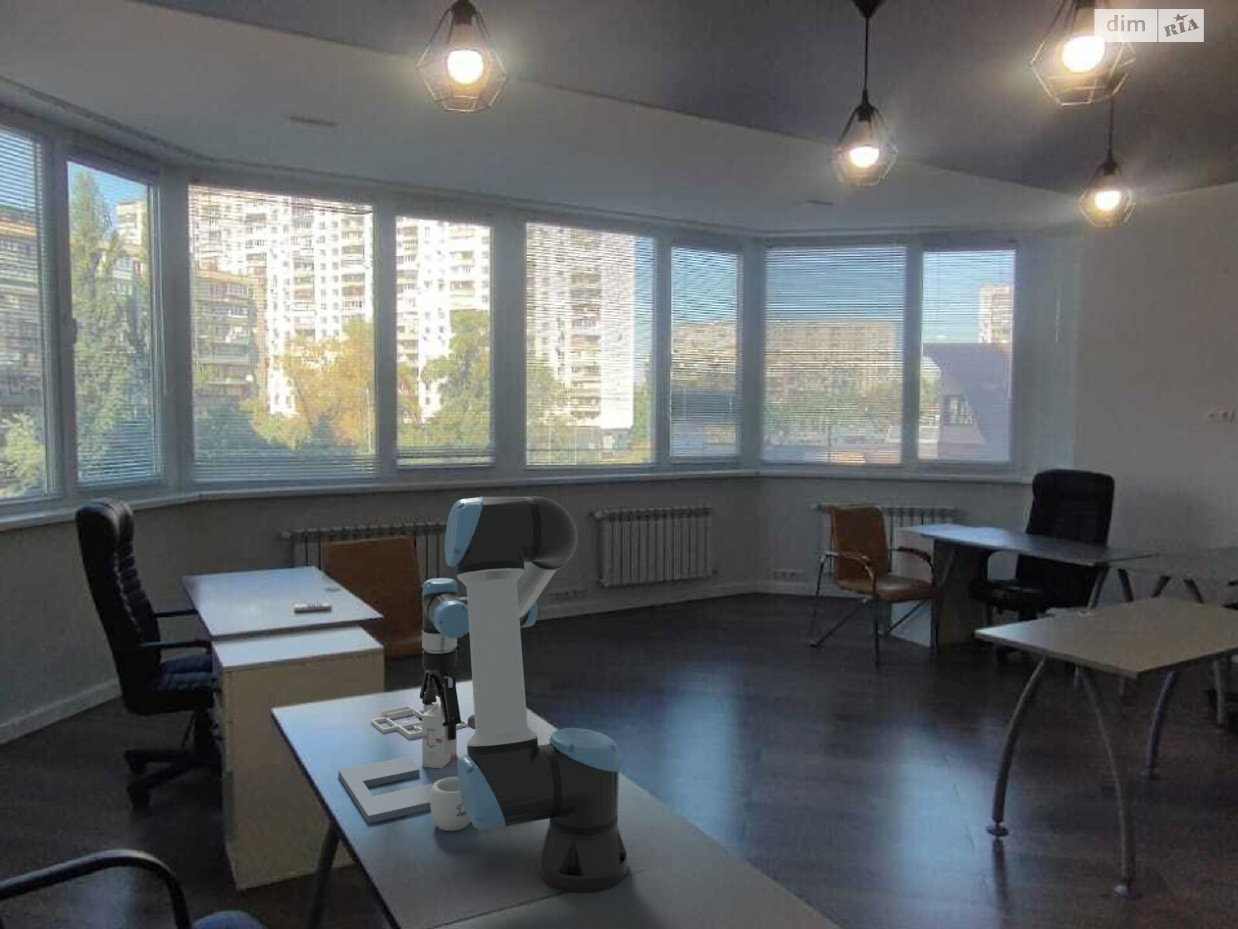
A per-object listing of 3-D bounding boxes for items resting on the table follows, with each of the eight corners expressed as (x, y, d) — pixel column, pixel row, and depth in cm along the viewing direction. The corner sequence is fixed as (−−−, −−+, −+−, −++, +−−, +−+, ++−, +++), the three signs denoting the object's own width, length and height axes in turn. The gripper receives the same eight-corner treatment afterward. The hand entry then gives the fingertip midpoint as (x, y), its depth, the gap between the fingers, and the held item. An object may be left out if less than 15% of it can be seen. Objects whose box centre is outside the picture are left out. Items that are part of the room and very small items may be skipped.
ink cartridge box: (436, 752, 197) (437, 689, 196) (457, 754, 196) (457, 691, 195) (420, 767, 188) (420, 701, 187) (442, 769, 187) (442, 703, 186)
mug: (439, 840, 156) (439, 797, 156) (423, 820, 164) (423, 780, 163) (500, 824, 163) (500, 783, 162) (482, 806, 170) (483, 767, 169)
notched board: (445, 806, 170) (445, 798, 170) (368, 823, 162) (368, 815, 162) (408, 763, 190) (408, 756, 190) (338, 776, 183) (338, 770, 182)
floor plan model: (342, 727, 213) (342, 719, 213) (435, 707, 228) (435, 700, 228) (371, 750, 198) (371, 742, 198) (468, 728, 213) (468, 720, 213)
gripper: (476, 661, 182) (476, 759, 183) (437, 633, 203) (437, 722, 204) (442, 665, 178) (442, 766, 179) (406, 637, 199) (405, 727, 200)
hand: (439, 742), depth 192 cm, fingers open, 13 cm apart
